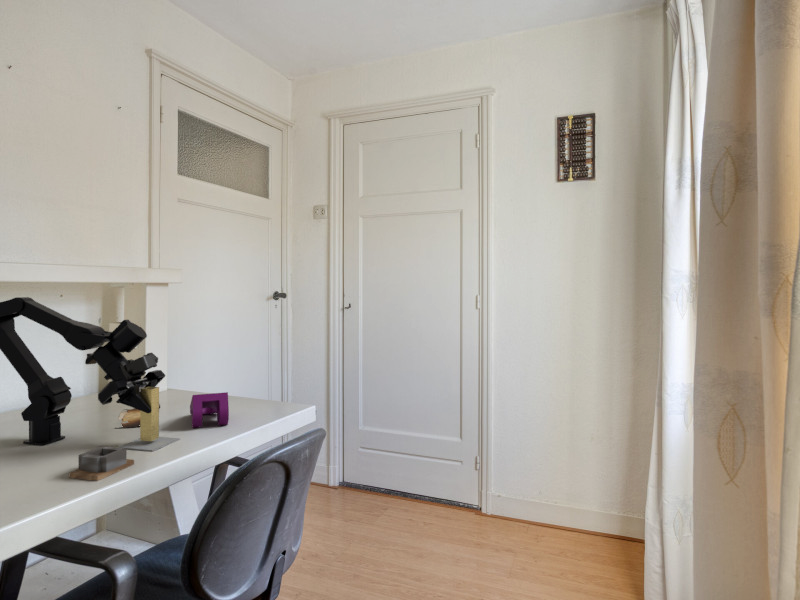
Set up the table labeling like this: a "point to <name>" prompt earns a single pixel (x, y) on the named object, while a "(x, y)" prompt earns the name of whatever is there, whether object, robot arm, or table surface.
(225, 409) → the mounting bracket
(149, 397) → the yellow rectangular block
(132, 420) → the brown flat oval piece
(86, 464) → the grey block holder
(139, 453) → the table surface
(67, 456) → the table surface
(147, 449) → the felt pad
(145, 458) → the table surface
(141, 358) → the robot arm
